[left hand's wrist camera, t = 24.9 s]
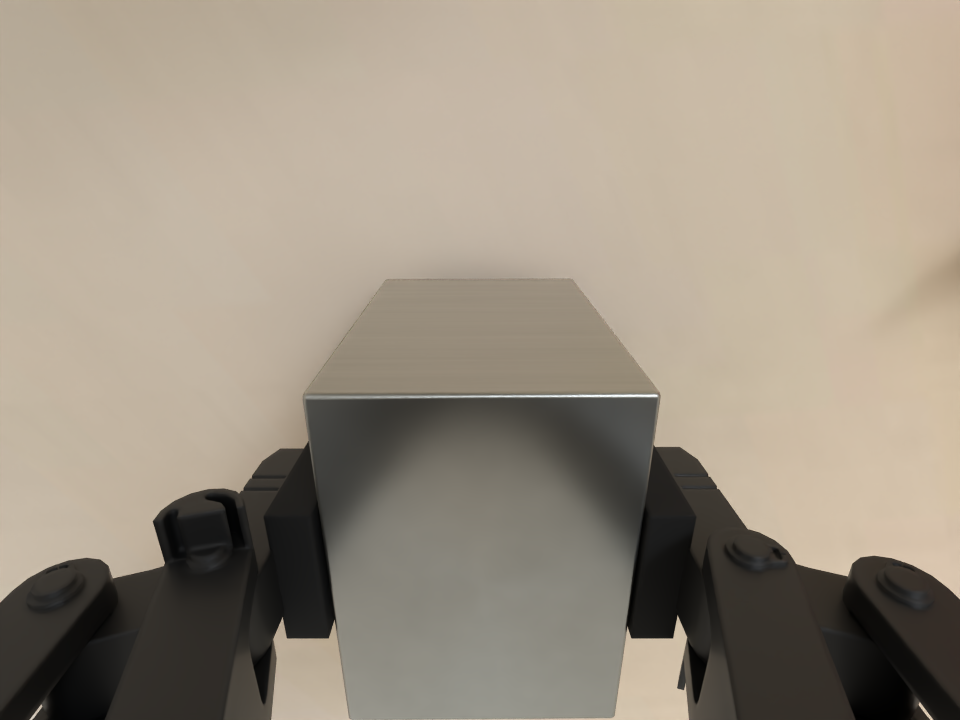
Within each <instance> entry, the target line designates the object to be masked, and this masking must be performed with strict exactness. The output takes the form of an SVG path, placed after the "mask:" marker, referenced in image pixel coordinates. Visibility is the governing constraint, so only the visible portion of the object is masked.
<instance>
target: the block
mask: <svg viewBox="0 0 960 720" xmlns="http://www.w3.org/2000/svg"><path fill="white" fill-rule="evenodd" d="M660 397H661V396H660V393H659V391H658V390H657V389H656V387H655V386H654V385H653V383H652V382H651V381H650V379H649V378H648V377H647V376H646V374H645V373H644V372H643V370H642V369H641V368H640V367H639V365H638V364H637V363H636V361H635V360H634V359H633V357H632V356H631V355H630V354H629V352H628V351H627V350H626V348H625V347H624V346H623V344H622V343H621V342H620V341H619V339H618V338H617V337H616V335H615V334H614V333H613V331H612V330H611V329H610V328H609V326H608V325H607V324H606V322H605V321H604V320H603V318H602V317H601V316H600V315H599V313H598V312H597V311H596V309H595V308H594V307H593V306H592V304H591V303H590V302H589V300H588V299H587V298H586V296H585V295H584V294H583V293H582V291H581V290H580V289H579V287H578V286H577V285H576V283H575V282H574V281H573V280H572V279H388V280H386V281H385V282H384V283H383V285H382V286H381V288H380V289H379V290H378V292H377V293H376V295H375V296H374V297H373V299H372V300H371V301H370V303H369V304H368V306H367V307H366V308H365V310H364V311H363V313H362V314H361V315H360V317H359V318H358V319H357V321H356V322H355V324H354V325H353V326H352V328H351V329H350V330H349V332H348V333H347V335H346V336H345V337H344V339H343V340H342V342H341V343H340V344H339V346H338V347H337V348H336V350H335V351H334V353H333V354H332V355H331V357H330V358H329V360H328V361H327V362H326V364H325V365H324V366H323V368H322V369H321V371H320V372H319V373H318V375H317V376H316V378H315V379H314V380H313V382H312V383H311V384H310V386H309V387H308V389H307V390H306V391H305V393H304V394H303V404H304V411H305V418H306V425H307V432H308V439H309V446H310V452H311V459H312V466H313V473H314V480H315V487H316V494H317V500H318V507H319V514H320V521H321V528H322V535H323V542H324V548H325V555H326V562H327V569H328V576H329V583H330V590H331V596H332V603H333V610H334V617H335V624H336V631H337V638H338V644H339V651H340V658H341V665H342V672H343V679H344V686H345V692H346V699H347V706H348V713H349V718H350V719H351V720H418V719H545V718H612V717H614V715H615V708H616V701H617V695H618V688H619V681H620V674H621V667H622V660H623V653H624V646H625V639H626V632H627V625H628V618H629V611H630V604H631V598H632V591H633V584H634V577H635V570H636V563H637V556H638V549H639V542H640V535H641V528H642V521H643V514H644V507H645V501H646V494H647V487H648V480H649V473H650V466H651V459H652V452H653V445H654V438H655V431H656V424H657V417H658V410H659V404H660Z"/></svg>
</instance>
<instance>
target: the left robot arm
mask: <svg viewBox="0 0 960 720" xmlns="http://www.w3.org/2000/svg"><path fill="white" fill-rule="evenodd" d="M153 523H154V527H155V530H156V534H157V537H158V540H159V544H160V547H161V551H162V554H163V557H164V561H165V564H164V566H163V567H160V568H156V569H153V570H149V571H144V572H140V573H135V574H131V575H127V576H122V577H118V578H112V575H111V572H110V569H109V566H108V565H107V564H105V563H104V562H103V561H101V560H99V559H91V558H83V559H76V560H69V561H66V562H63V563H60V564H57V565H54V566H52V567H49V568H47V569H45V570H43V571H41V572H39V573H37V574H36V575H34V576H32V577H30V578H28V579H27V580H26V581H24V582H23V583H22V584H21V585H19V586H18V587H17V588H16V589H14V590H13V591H12V592H11V593H10V594H9V595H8V596H7V597H6V598H5V599H4V600H3V601H2V602H1V603H0V720H30V718H31V717H32V716H33V714H34V713H35V712H36V710H37V709H38V708H39V706H40V705H41V704H42V706H43V707H42V708H41V710H40V711H39V712H38V714H37V715H36V716H35V718H34V719H33V720H271V714H272V703H273V692H274V681H275V670H276V659H277V658H276V652H275V646H274V641H273V638H274V636H275V633H276V631H277V629H278V626H279V624H280V622H281V619H282V617H283V620H284V625H285V630H286V636H287V638H329V636H330V632H331V629H332V626H333V623H334V620H335V617H334V610H333V603H332V596H331V590H330V583H329V576H328V569H327V562H326V555H325V548H324V542H323V535H322V528H321V521H320V514H319V507H318V500H317V494H316V487H315V480H314V473H313V466H312V459H311V452H310V446H309V441H308V443H307V445H306V446H305V448H304V449H279V450H278V451H276V452H275V453H274V454H272V455H271V456H269V457H268V458H266V459H265V460H264V461H262V463H261V464H260V466H259V467H258V468H257V470H256V471H255V473H254V474H253V475H252V479H250V480H249V481H248V482H247V484H246V485H245V487H244V490H243V491H241V492H240V494H239V493H237V492H236V491H232V490H228V489H207V490H203V491H199V492H195V493H191V494H189V495H187V496H185V497H182V498H180V499H178V500H176V501H174V502H172V503H171V504H170V505H168V506H167V507H165V508H164V509H163V510H161V511H160V513H159V514H158V515H157V517H156V518H155V519H154V521H153ZM677 615H678V617H679V619H680V621H681V624H682V626H683V628H684V631H685V633H686V635H687V641H686V646H685V651H684V656H683V661H682V665H681V670H680V675H679V681H678V687H677V688H678V689H682V690H684V687H685V683H686V691H687V702H688V713H689V720H930V719H929V718H928V717H927V716H926V714H925V713H924V712H923V710H922V709H921V708H920V706H919V705H918V704H919V702H920V703H921V704H922V705H923V707H924V708H925V709H926V710H927V712H928V713H929V714H930V716H931V717H932V718H933V720H960V599H959V598H958V597H957V596H956V595H955V594H954V593H953V592H951V591H950V590H949V589H948V588H947V587H946V586H944V585H943V584H942V583H941V582H939V581H938V580H937V579H935V578H934V577H933V576H931V575H929V574H928V573H926V572H924V571H922V570H920V569H918V568H916V567H914V566H913V565H910V564H907V563H905V562H901V561H898V560H895V559H892V558H886V557H879V556H869V557H861V558H859V559H858V560H857V561H855V562H854V563H853V564H852V567H851V569H850V572H849V575H848V577H847V576H843V575H839V574H834V573H830V572H825V571H821V570H816V569H812V568H808V567H804V566H801V565H797V564H796V563H795V561H794V560H793V558H792V557H791V555H790V554H789V552H788V551H787V550H786V549H785V548H783V547H782V546H781V545H780V544H779V543H777V542H776V541H775V540H773V539H771V538H769V537H767V536H765V535H763V534H761V533H759V532H756V531H752V530H748V529H747V528H746V526H745V525H744V524H743V522H742V521H741V519H740V518H739V517H738V515H737V514H736V512H735V511H734V510H733V508H732V507H731V505H730V504H729V503H728V501H727V500H726V498H725V497H724V496H723V494H722V493H721V491H720V490H719V489H717V486H716V484H715V483H714V482H713V480H712V479H711V477H708V473H707V472H706V470H705V469H704V468H703V466H702V465H701V463H700V462H699V461H698V459H696V458H695V457H693V456H692V455H690V454H689V453H688V452H686V451H685V450H683V449H682V448H680V447H655V446H654V445H653V452H652V459H651V466H650V473H649V480H648V487H647V494H646V501H645V507H644V514H643V521H642V528H641V535H640V542H639V549H638V556H637V563H636V570H635V577H634V584H633V591H632V598H631V604H630V611H629V618H628V625H627V626H628V629H629V632H630V635H631V638H673V636H674V631H675V625H676V620H677Z"/></svg>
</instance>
